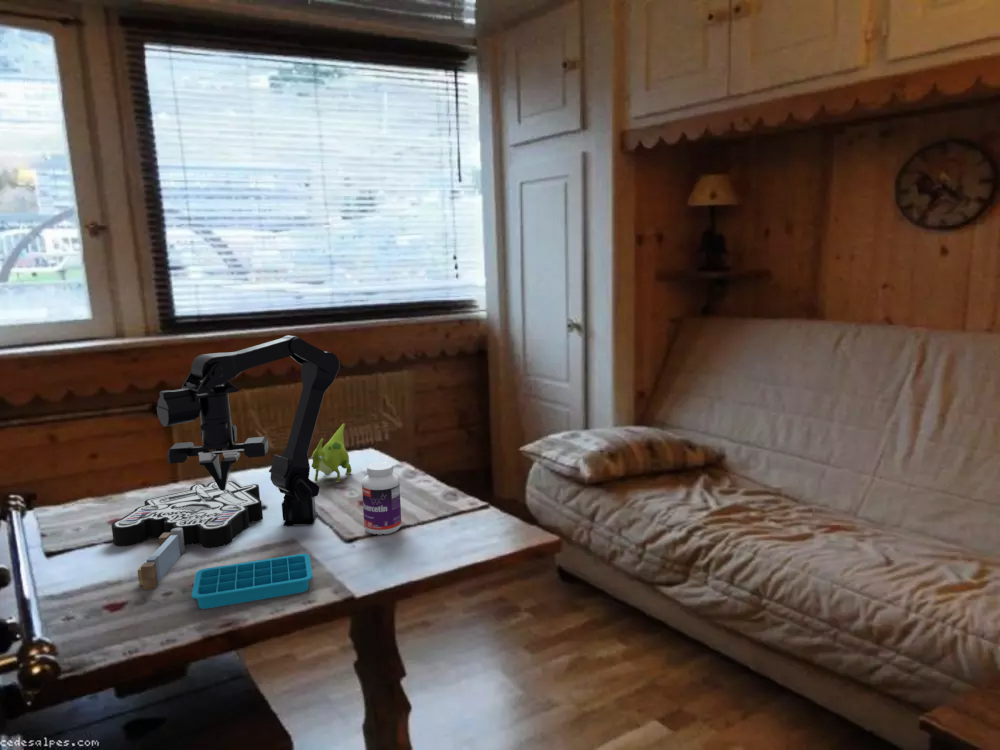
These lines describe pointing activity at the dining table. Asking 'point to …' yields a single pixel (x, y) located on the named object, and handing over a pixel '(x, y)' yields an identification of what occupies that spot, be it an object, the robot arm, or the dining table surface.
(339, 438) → the toy
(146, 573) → the wooden block
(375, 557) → the dining table surface
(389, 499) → the pill bottle
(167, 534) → the brown angular block
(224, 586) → the ice cube tray
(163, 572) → the pale blue flat bar
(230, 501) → the decorative sign
